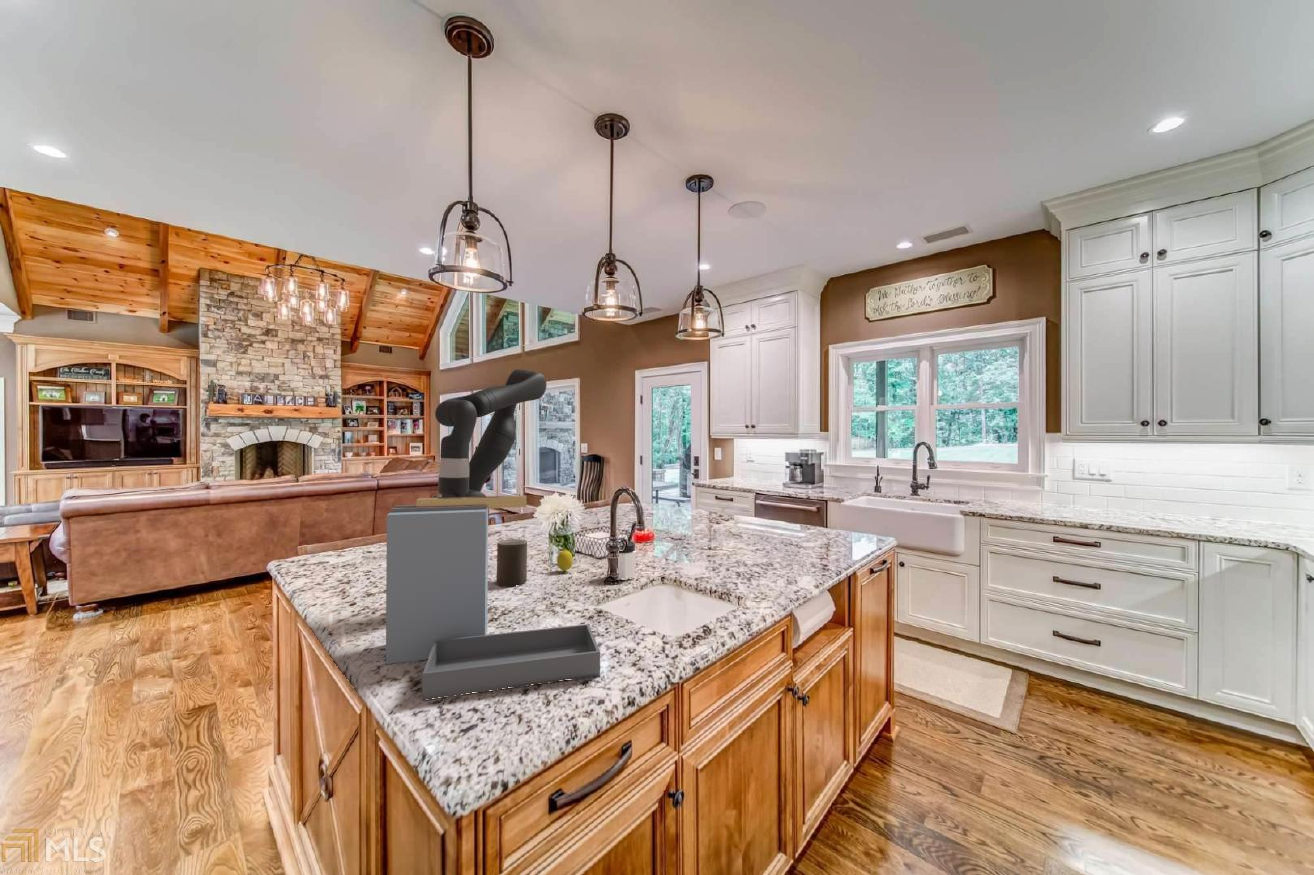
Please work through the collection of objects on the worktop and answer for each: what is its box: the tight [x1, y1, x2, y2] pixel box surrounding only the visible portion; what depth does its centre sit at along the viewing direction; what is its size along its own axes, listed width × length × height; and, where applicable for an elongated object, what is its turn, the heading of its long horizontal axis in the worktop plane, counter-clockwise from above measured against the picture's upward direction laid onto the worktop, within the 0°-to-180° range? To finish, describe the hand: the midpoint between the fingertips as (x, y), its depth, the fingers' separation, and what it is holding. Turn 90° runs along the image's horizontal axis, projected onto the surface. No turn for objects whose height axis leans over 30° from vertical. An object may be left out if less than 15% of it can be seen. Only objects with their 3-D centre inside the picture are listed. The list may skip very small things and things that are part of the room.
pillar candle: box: [495, 538, 528, 588], centre depth 161 cm, size 10×10×15 cm
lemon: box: [556, 549, 574, 572], centre depth 174 cm, size 6×6×8 cm
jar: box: [618, 540, 636, 578], centre depth 168 cm, size 9×8×12 cm
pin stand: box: [385, 504, 489, 665], centre depth 112 cm, size 20×12×33 cm, turn 107°
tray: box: [421, 623, 601, 701], centre depth 101 cm, size 33×15×5 cm, turn 107°
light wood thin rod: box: [416, 495, 528, 509], centre depth 114 cm, size 24×2×2 cm, turn 107°
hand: (451, 536), depth 127 cm, fingers open, 8 cm apart
